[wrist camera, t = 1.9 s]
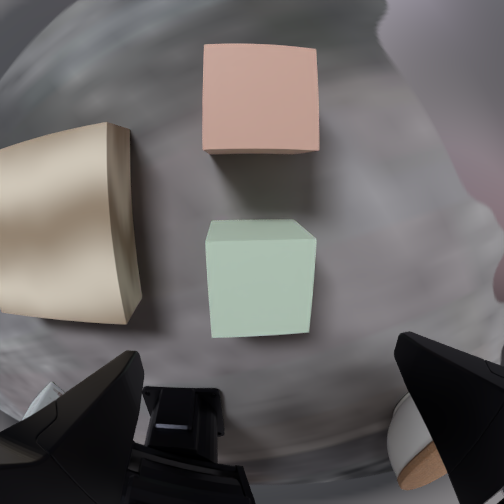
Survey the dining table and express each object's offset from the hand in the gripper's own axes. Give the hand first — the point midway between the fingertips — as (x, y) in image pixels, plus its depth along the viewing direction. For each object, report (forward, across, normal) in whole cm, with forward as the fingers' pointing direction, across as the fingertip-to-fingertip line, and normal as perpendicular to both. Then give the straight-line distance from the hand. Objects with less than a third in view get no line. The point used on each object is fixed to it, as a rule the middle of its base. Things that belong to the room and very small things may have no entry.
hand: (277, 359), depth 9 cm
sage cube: (+10, 0, 0) cm, 10 cm away
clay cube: (+10, 0, -9) cm, 14 cm away
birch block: (+10, +13, -3) cm, 17 cm away
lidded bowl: (+10, -19, +18) cm, 28 cm away
